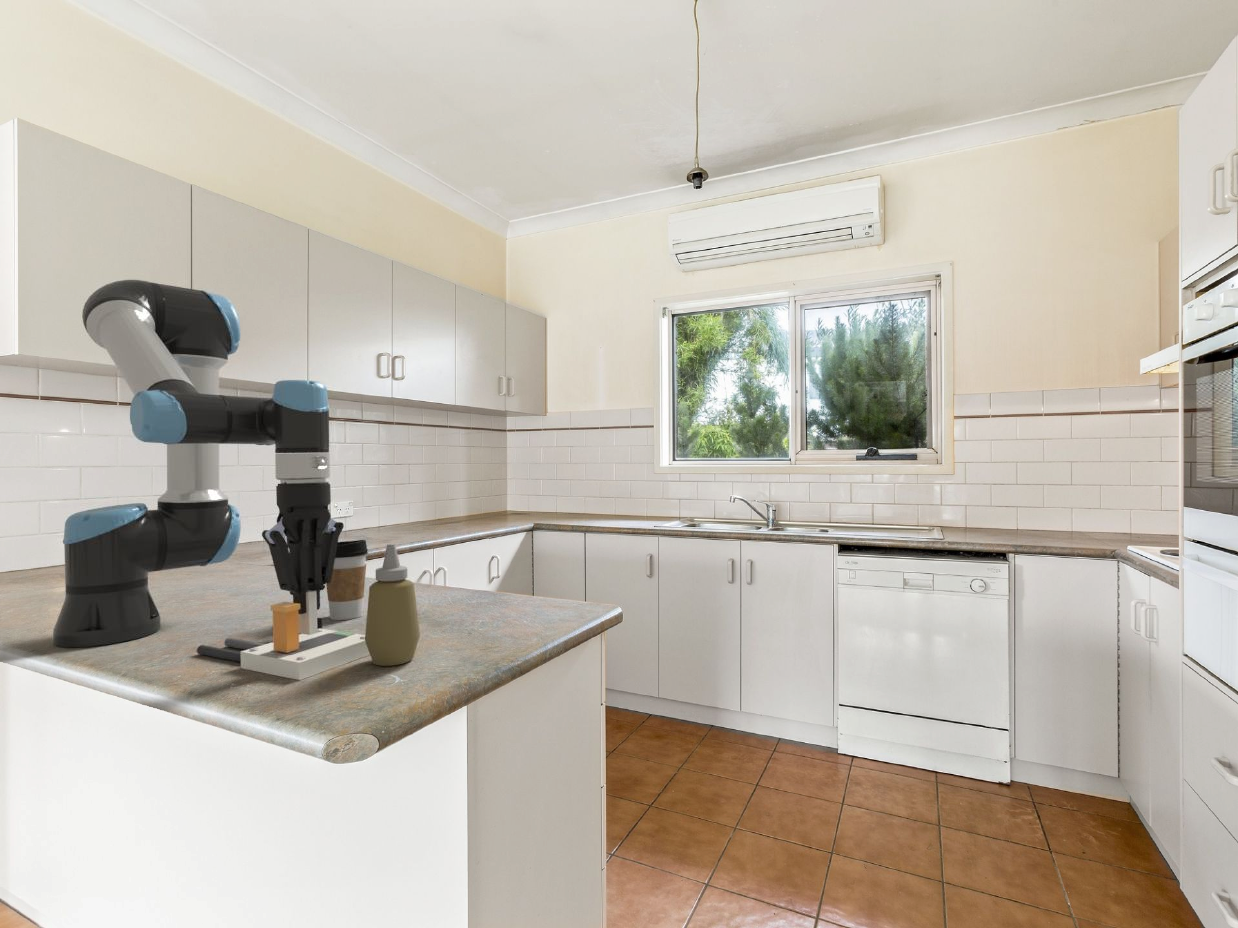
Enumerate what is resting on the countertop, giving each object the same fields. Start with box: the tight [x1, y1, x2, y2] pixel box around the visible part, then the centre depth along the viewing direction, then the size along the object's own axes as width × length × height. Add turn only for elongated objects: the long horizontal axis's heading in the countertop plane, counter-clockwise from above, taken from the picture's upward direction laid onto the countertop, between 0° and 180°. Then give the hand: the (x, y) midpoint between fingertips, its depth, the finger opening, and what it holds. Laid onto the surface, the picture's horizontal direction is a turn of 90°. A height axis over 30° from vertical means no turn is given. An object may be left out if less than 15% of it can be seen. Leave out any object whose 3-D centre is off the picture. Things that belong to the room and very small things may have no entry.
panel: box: [240, 628, 370, 681], centre depth 99 cm, size 13×14×3 cm
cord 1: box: [196, 644, 241, 663], centre depth 101 cm, size 13×1×1 cm, turn 64°
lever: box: [270, 601, 300, 653], centre depth 95 cm, size 3×2×7 cm
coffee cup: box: [325, 539, 369, 621], centre depth 127 cm, size 8×8×15 cm
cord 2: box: [224, 637, 266, 651], centre depth 105 cm, size 13×1×1 cm, turn 64°
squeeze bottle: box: [364, 543, 421, 667], centre depth 98 cm, size 8×8×18 cm
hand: (307, 632), depth 99 cm, fingers closed
